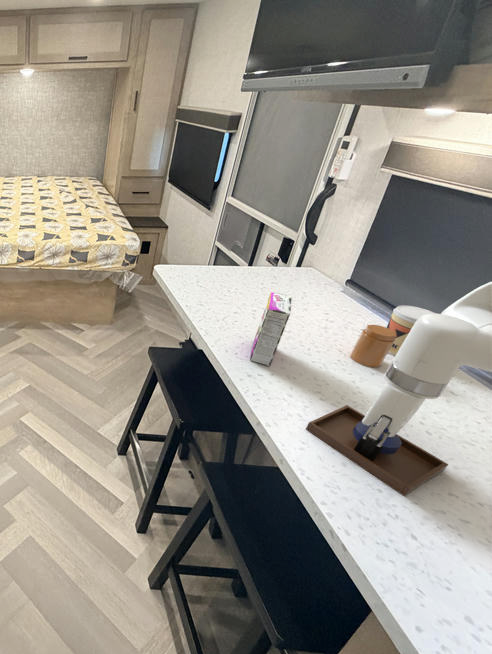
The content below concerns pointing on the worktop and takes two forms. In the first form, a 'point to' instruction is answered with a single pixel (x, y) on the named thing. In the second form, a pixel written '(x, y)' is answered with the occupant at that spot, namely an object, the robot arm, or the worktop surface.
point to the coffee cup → (403, 324)
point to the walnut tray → (392, 469)
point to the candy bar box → (271, 328)
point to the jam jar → (373, 345)
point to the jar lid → (390, 443)
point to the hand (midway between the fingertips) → (371, 446)
